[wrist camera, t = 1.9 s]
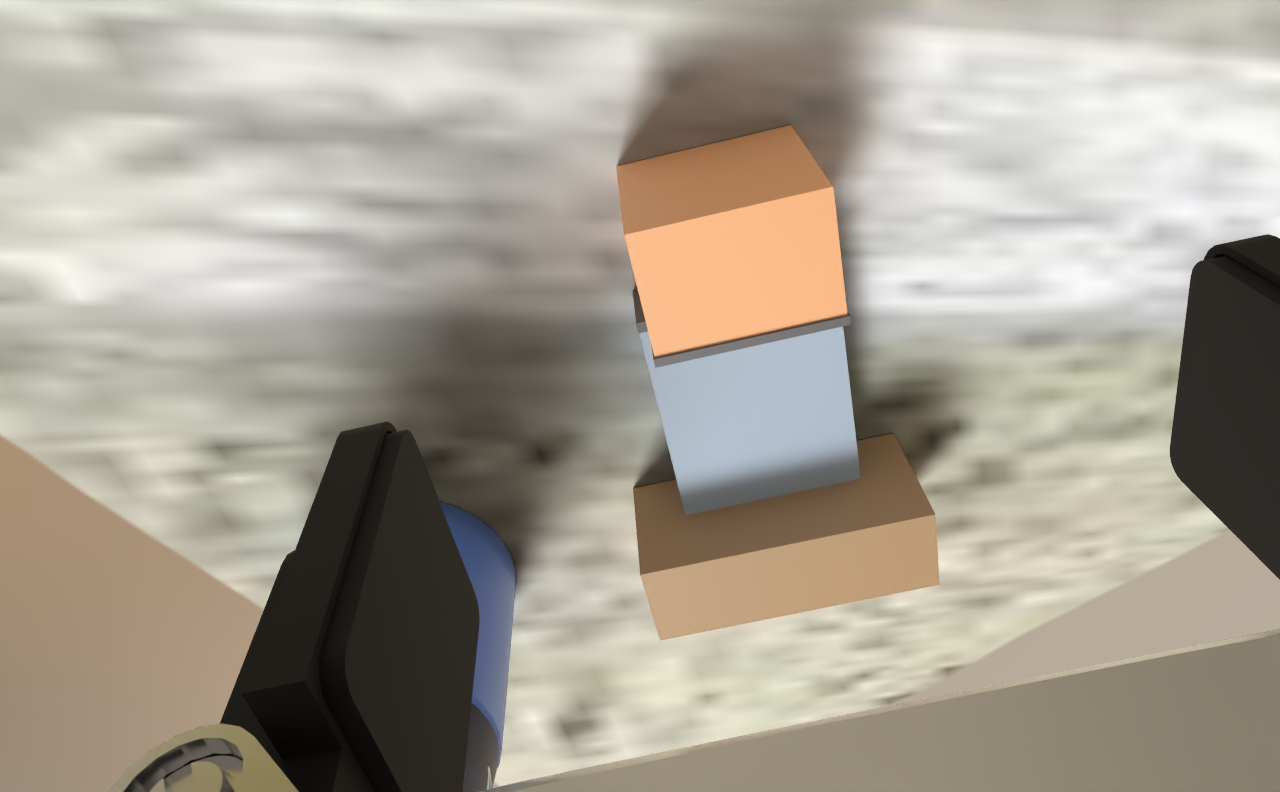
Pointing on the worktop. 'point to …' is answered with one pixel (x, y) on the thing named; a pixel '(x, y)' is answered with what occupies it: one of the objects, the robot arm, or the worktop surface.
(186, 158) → the worktop surface
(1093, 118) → the worktop surface
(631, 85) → the worktop surface
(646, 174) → the stub
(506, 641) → the water bottle
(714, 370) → the tan blue stepped block
